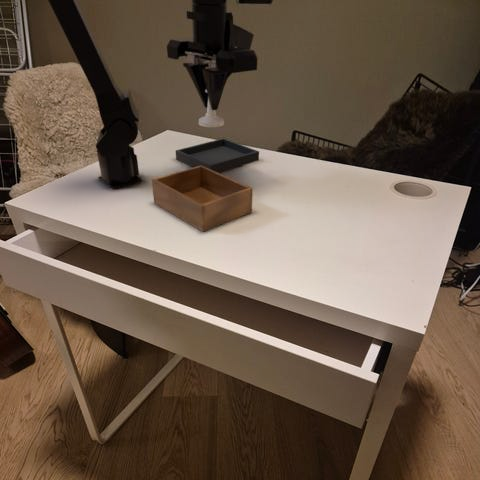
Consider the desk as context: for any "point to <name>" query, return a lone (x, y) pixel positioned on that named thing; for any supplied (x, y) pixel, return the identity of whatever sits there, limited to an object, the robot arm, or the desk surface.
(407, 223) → the desk surface
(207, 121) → the chess piece
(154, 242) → the desk surface
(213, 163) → the tray
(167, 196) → the wooden box
